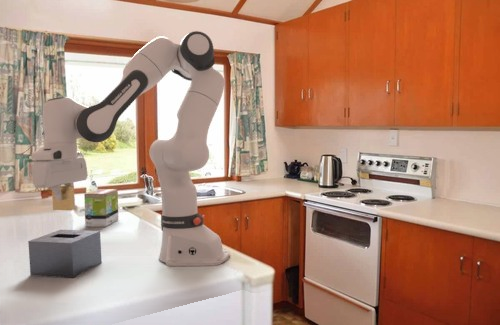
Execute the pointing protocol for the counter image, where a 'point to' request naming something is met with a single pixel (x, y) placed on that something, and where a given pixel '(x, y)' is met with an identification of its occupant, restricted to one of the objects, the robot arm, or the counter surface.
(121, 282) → the counter surface
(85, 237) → the money box
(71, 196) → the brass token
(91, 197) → the tea box
